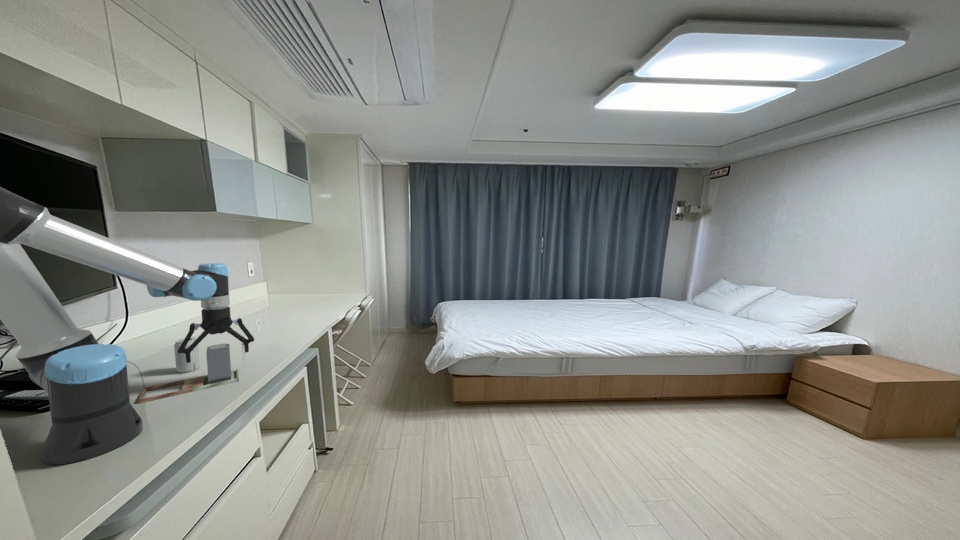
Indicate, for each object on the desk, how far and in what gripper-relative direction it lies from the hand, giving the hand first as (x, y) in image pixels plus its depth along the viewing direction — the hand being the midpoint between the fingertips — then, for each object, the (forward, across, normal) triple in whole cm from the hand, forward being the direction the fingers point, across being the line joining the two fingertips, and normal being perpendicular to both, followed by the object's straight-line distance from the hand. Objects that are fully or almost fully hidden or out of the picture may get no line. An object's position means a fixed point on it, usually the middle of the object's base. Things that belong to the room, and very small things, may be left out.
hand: (219, 365), depth 106 cm
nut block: (+5, 0, 0) cm, 5 cm away
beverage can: (+5, -10, +18) cm, 21 cm away
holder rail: (+5, -7, 0) cm, 9 cm away
